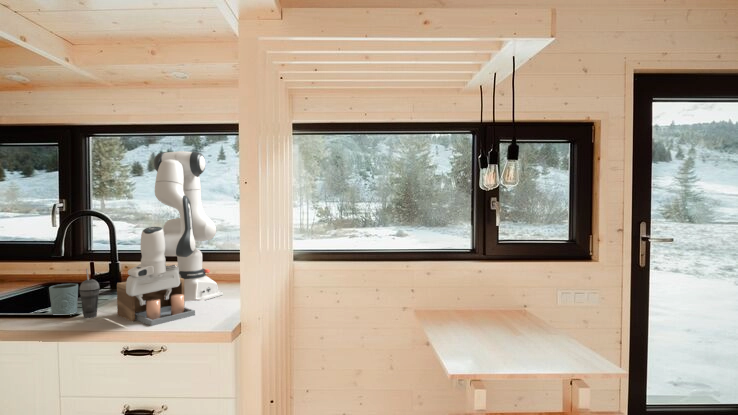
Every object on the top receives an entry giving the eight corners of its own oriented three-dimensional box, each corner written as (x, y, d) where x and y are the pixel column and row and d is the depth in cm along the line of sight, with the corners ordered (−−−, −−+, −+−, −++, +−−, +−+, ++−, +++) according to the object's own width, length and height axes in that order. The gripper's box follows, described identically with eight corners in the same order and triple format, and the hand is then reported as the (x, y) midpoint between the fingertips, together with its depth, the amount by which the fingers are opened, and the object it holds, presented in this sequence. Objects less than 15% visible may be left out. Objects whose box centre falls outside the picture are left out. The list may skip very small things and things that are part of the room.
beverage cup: (90, 320, 172) (89, 270, 171) (74, 318, 173) (74, 269, 173) (104, 314, 179) (104, 267, 178) (90, 313, 181) (89, 266, 180)
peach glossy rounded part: (180, 312, 182) (180, 293, 182) (186, 314, 179) (186, 295, 179) (168, 314, 178) (168, 295, 178) (175, 317, 175) (174, 297, 175)
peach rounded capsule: (156, 317, 174) (156, 298, 174) (162, 319, 171) (162, 300, 171) (144, 320, 170) (143, 300, 170) (150, 323, 167) (150, 302, 167)
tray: (176, 310, 187) (176, 304, 187) (195, 316, 178) (195, 310, 178) (133, 320, 173) (133, 313, 172) (151, 327, 164) (151, 320, 163)
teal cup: (64, 318, 174) (63, 289, 174) (43, 316, 176) (42, 287, 175) (84, 311, 184) (84, 283, 184) (64, 309, 186) (63, 282, 185)
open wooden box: (169, 305, 194) (168, 275, 194) (184, 310, 187) (184, 278, 186) (117, 316, 177) (116, 283, 176) (131, 322, 169) (131, 287, 168)
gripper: (174, 262, 180) (175, 295, 181) (123, 271, 164) (124, 306, 165) (182, 264, 177) (183, 297, 178) (131, 273, 160) (132, 309, 161)
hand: (154, 302), depth 171 cm, fingers open, 8 cm apart
